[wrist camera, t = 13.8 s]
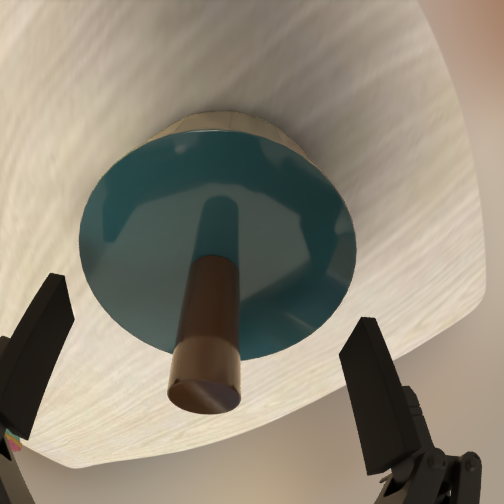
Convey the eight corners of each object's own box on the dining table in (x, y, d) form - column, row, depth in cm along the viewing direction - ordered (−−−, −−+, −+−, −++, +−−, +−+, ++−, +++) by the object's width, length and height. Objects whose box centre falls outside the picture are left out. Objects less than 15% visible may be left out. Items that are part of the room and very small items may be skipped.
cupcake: (-5, 418, 51) (-17, 454, 41) (3, 415, 49) (-10, 455, 39) (20, 434, 56) (10, 470, 46) (30, 433, 53) (19, 472, 43)
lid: (189, 58, 11) (117, 55, 4) (397, 248, 17) (465, 360, 10) (55, 272, 17) (-3, 376, 10) (234, 372, 23) (235, 473, 16)
